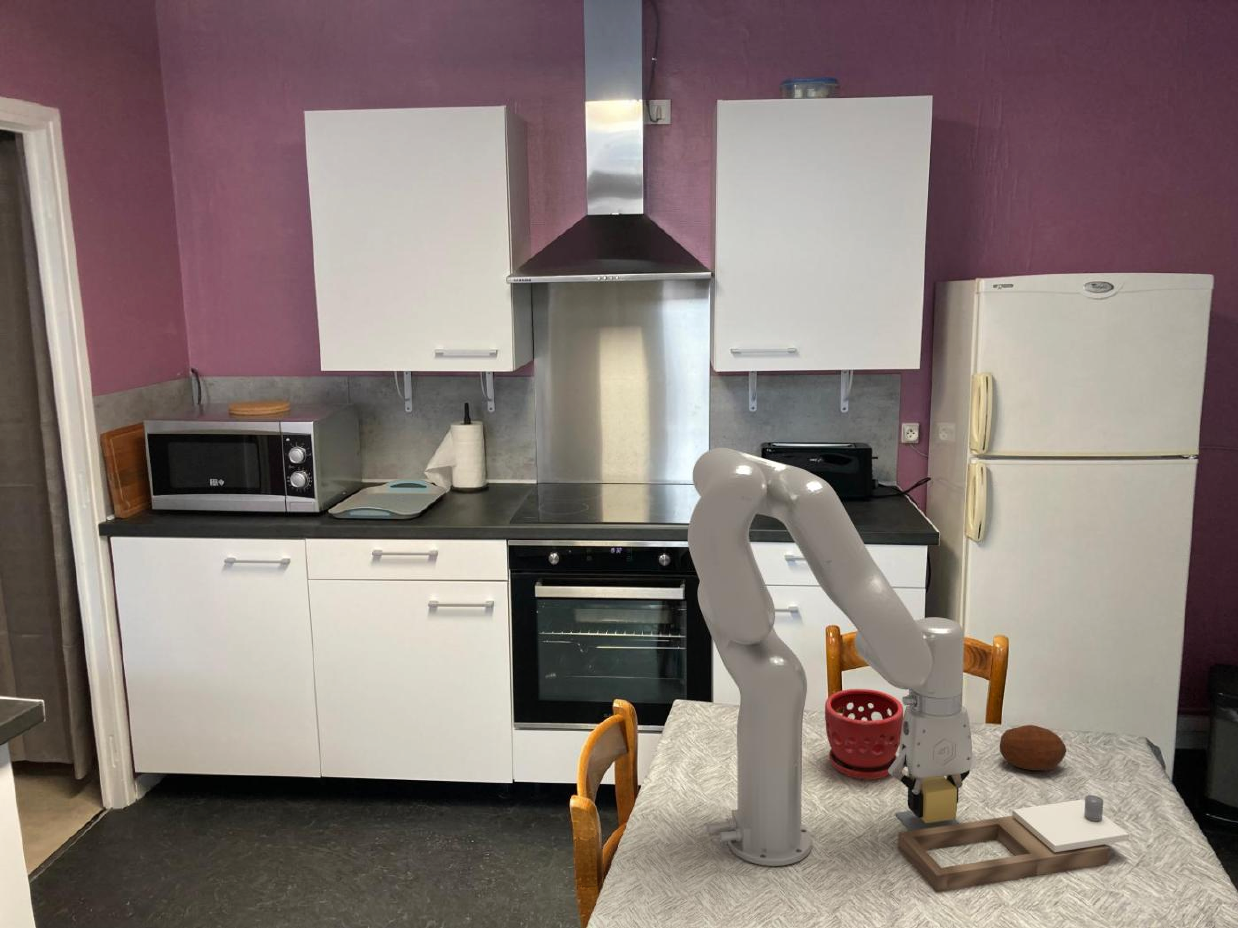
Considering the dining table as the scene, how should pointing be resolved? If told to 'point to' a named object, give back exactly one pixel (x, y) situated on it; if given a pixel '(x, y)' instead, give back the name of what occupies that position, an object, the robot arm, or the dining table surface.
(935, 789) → the block
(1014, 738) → the potato
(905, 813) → the mat
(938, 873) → the brown box
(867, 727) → the plant pot
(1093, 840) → the lid
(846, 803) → the dining table surface
